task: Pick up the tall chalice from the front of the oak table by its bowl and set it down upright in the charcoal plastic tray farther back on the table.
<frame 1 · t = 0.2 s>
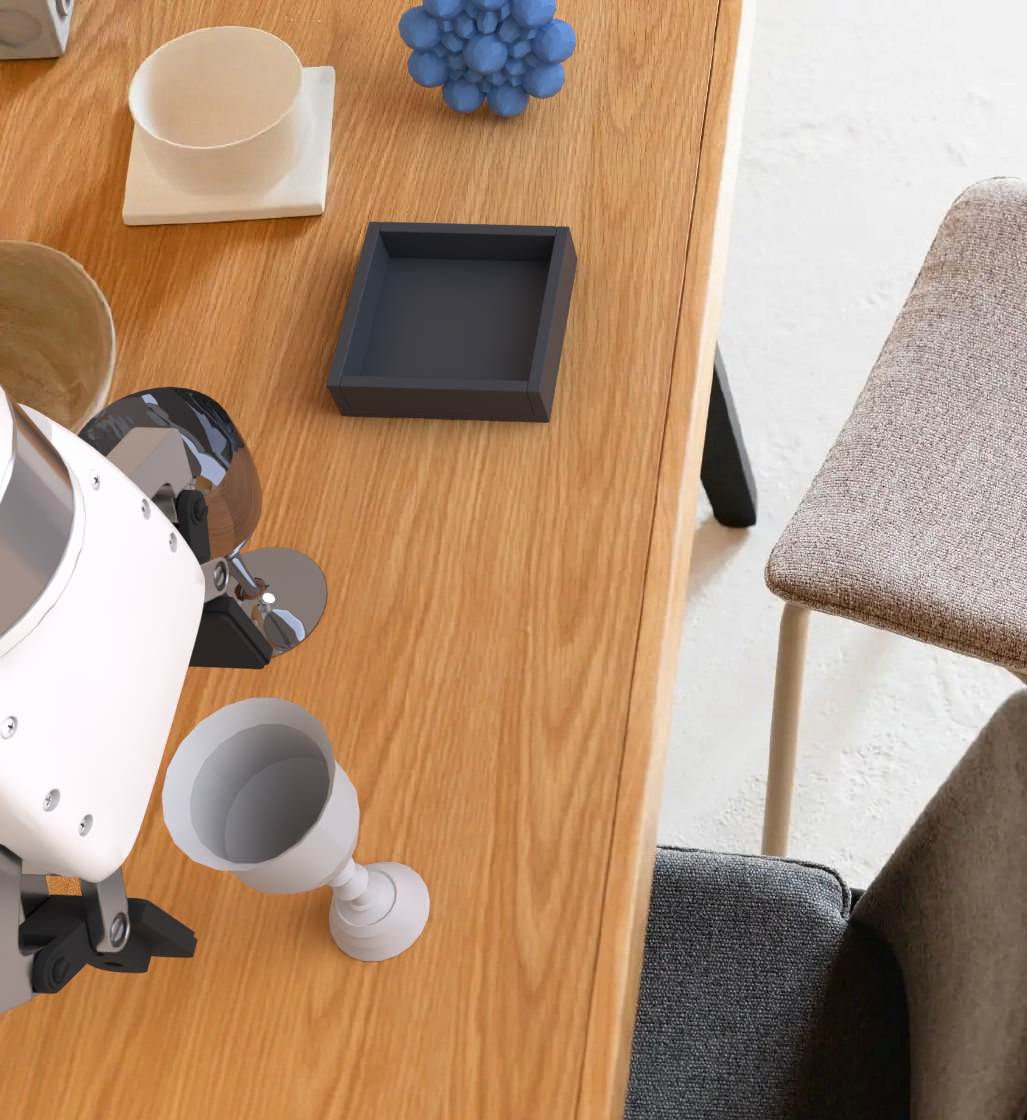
hand: (190, 795, 48), 28 cm above the table, tool pointing down, fingers open, 9 cm apart
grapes: (510, 105, 102), on the table
wine glass: (264, 604, 84), on the table
chalice: (380, 911, 75), on the table
tray: (463, 335, 92), on the table
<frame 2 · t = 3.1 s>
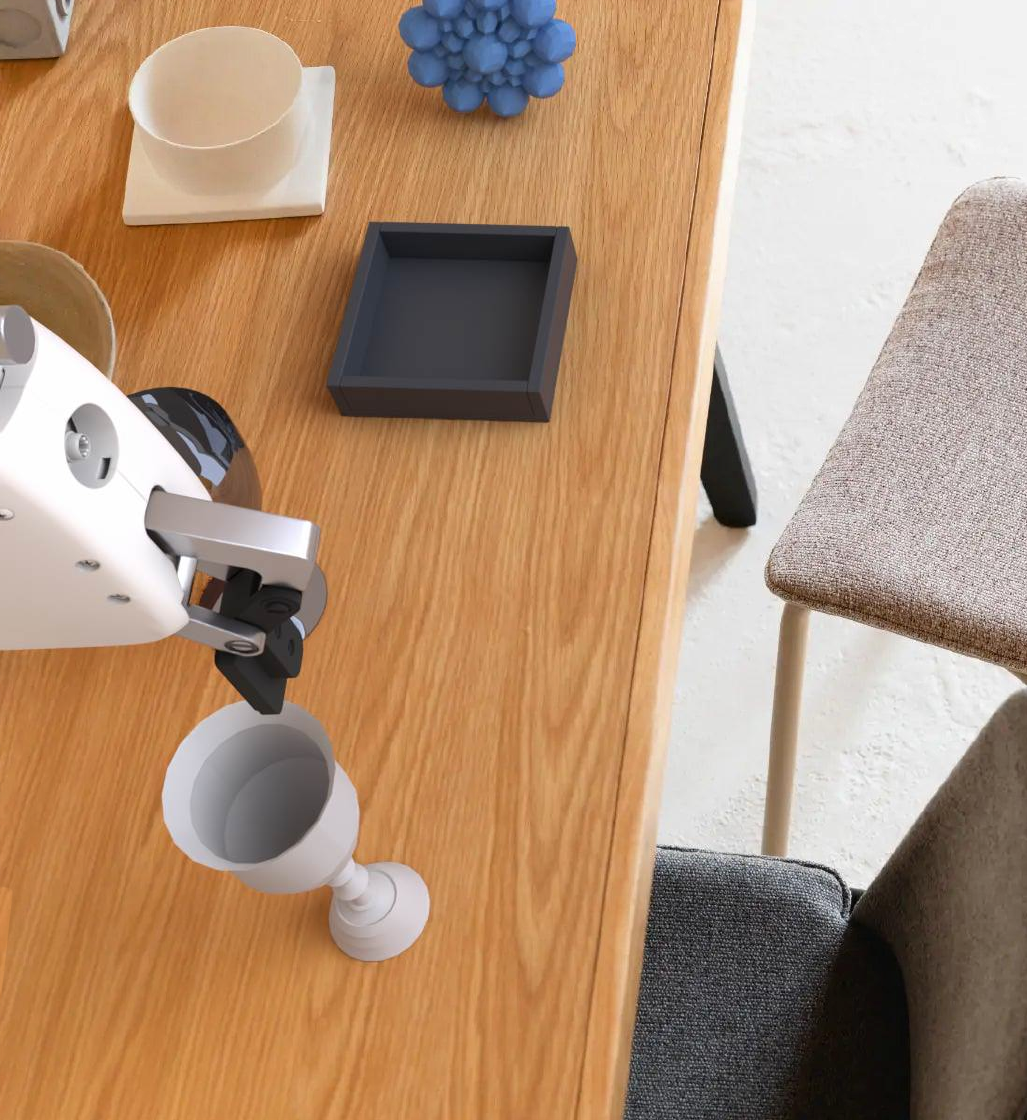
hand: (129, 677, 48), 30 cm above the table, tool pointing down, fingers open, 9 cm apart
nothing on the table moved.
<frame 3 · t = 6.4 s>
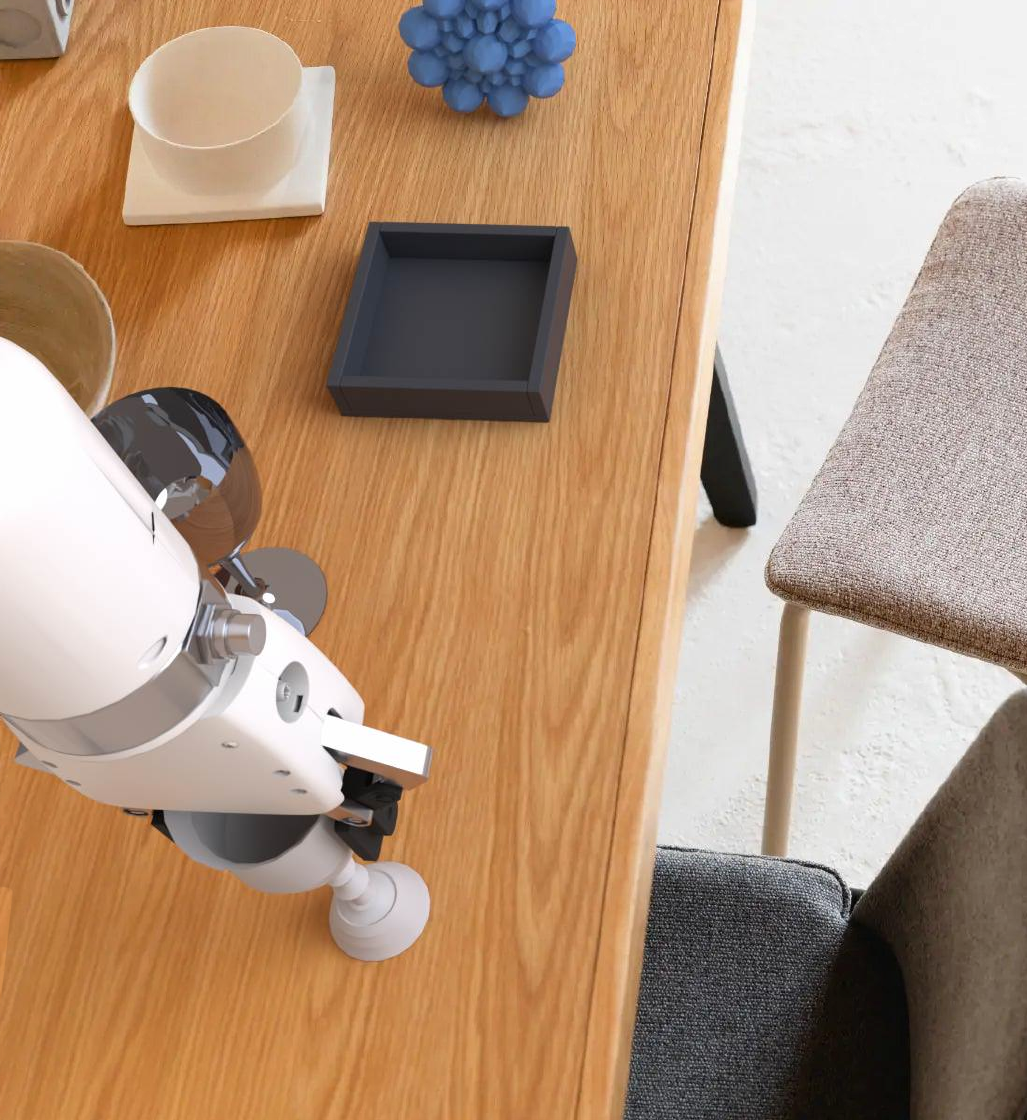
hand: (291, 822, 63), 13 cm above the table, tool pointing down, fingers closed on chalice, 6 cm apart
chalice: (380, 911, 75), on the table, touching gripper
everything else where it was.
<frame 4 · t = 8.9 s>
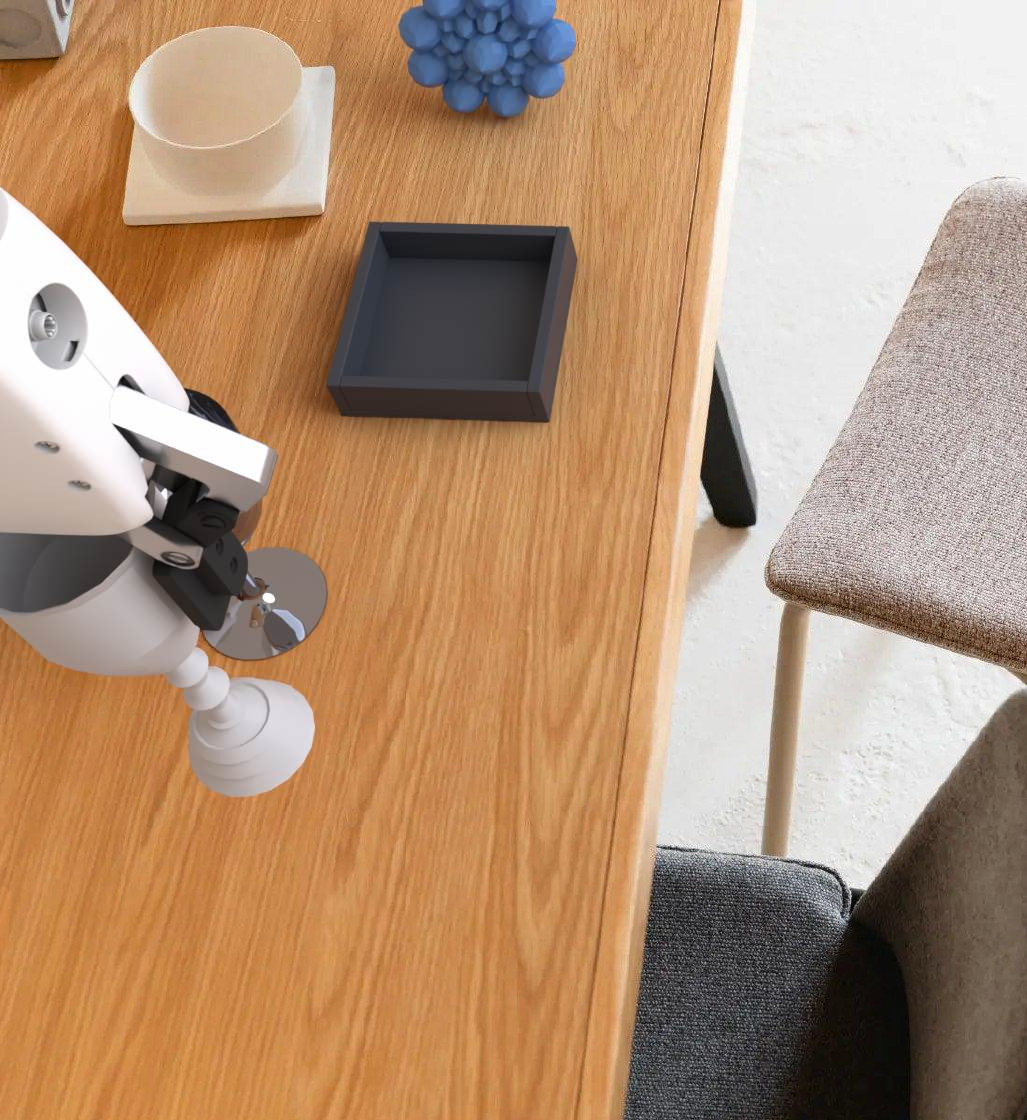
hand: (110, 583, 49), 31 cm above the table, tool pointing down, fingers closed on chalice, 6 cm apart
chalice: (253, 739, 60), point 18 cm above the table, touching gripper
everything else where it was.
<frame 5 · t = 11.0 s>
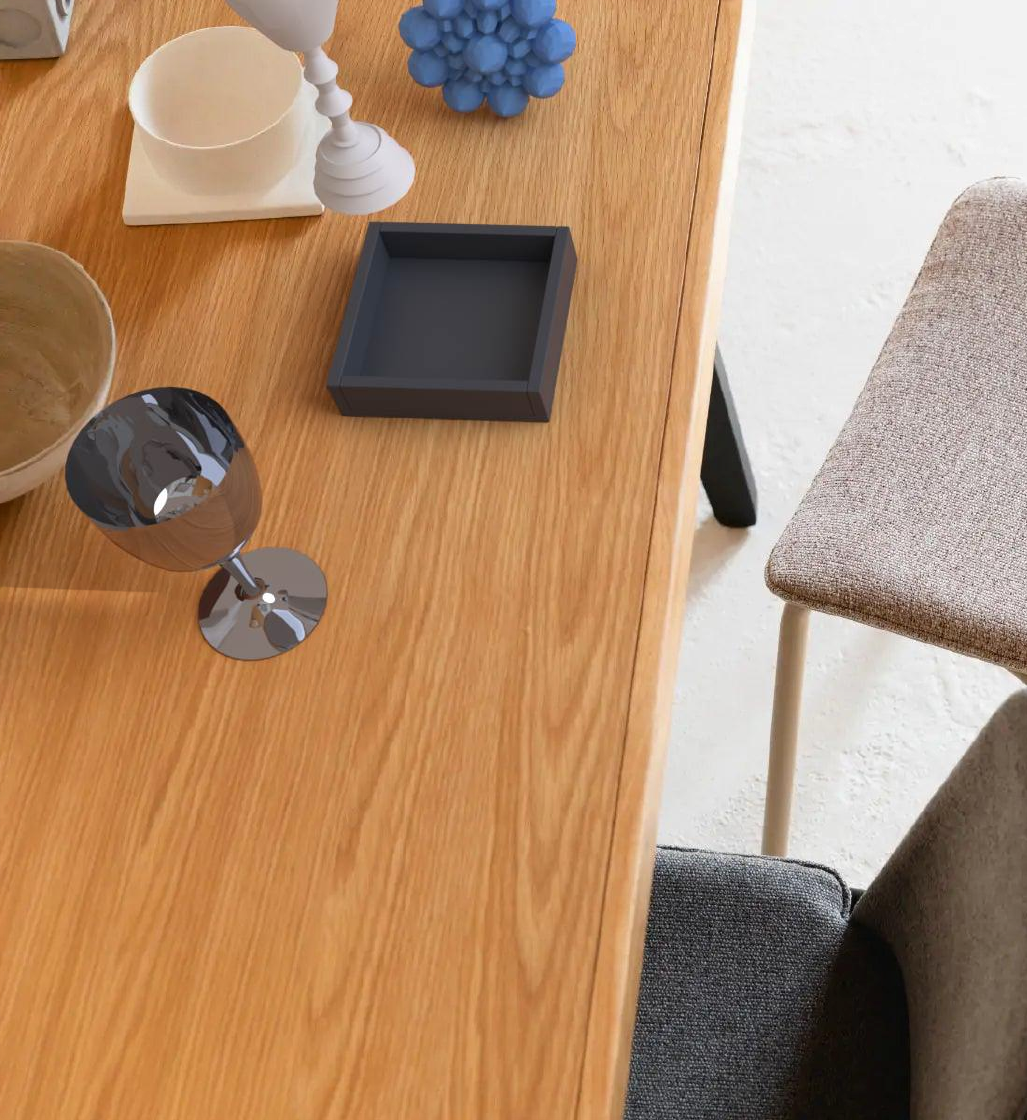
chalice: (365, 179, 74), point 18 cm above the table, touching gripper
everything else where it was.
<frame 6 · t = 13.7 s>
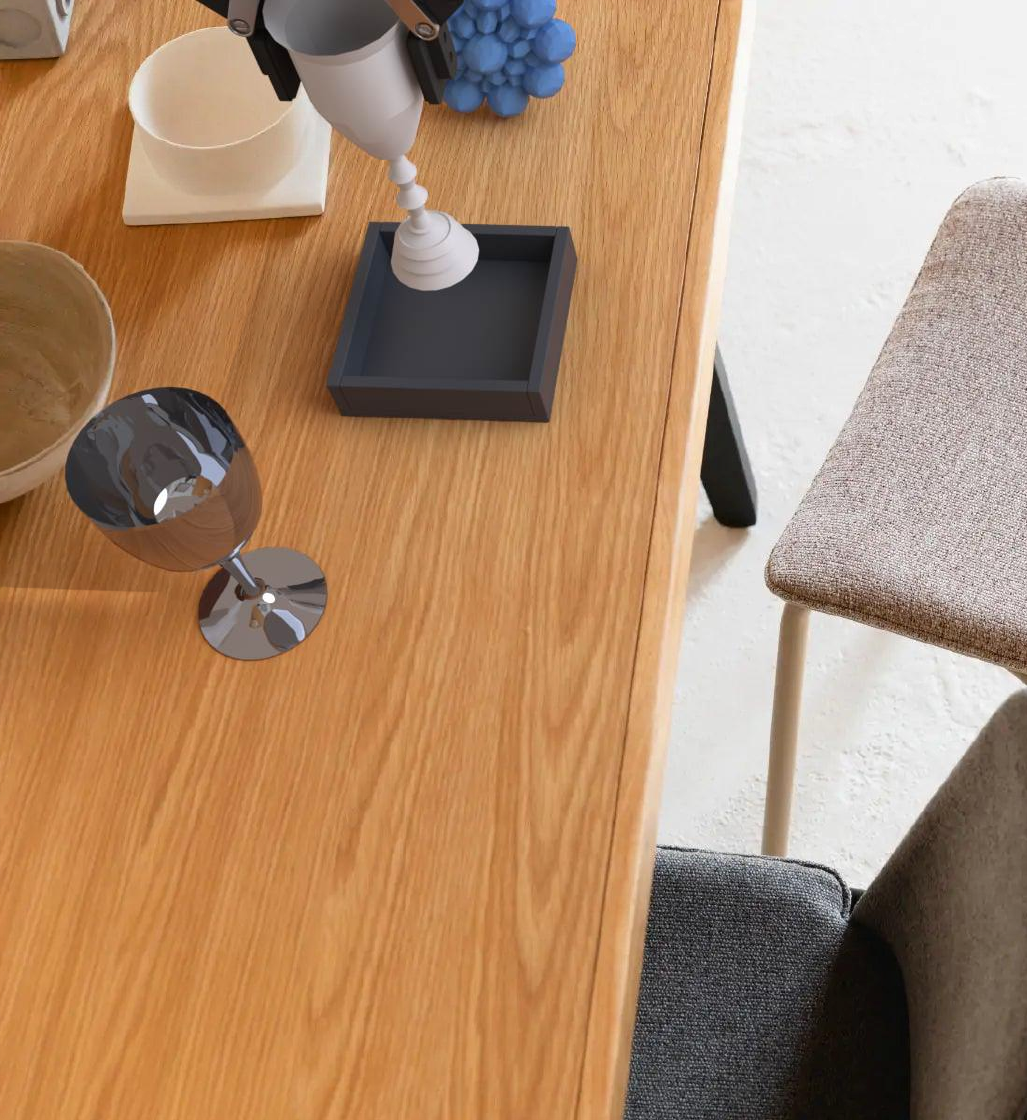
hand: (366, 80, 75), 20 cm above the table, tool pointing down, fingers closed on chalice, 6 cm apart
chalice: (435, 258, 86), point 7 cm above the table, touching gripper
everything else where it was.
when the fingers open (14 cm above the table, at t = 15.9 s): chalice stays where it is, resting on tray.
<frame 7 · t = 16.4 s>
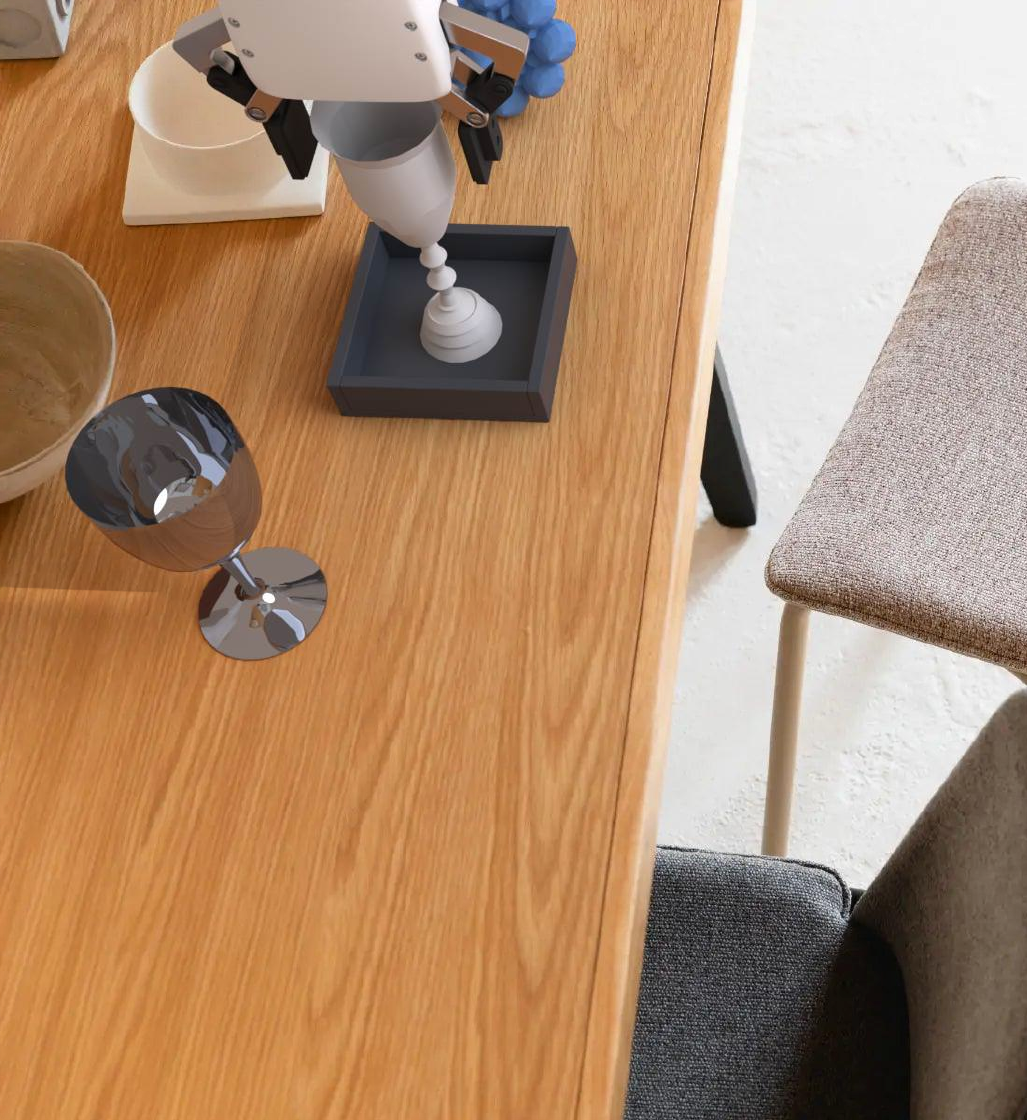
hand: (396, 162, 80), 15 cm above the table, tool pointing down, fingers open, 9 cm apart
chalice: (462, 331, 92), resting on tray
everything else where it was.
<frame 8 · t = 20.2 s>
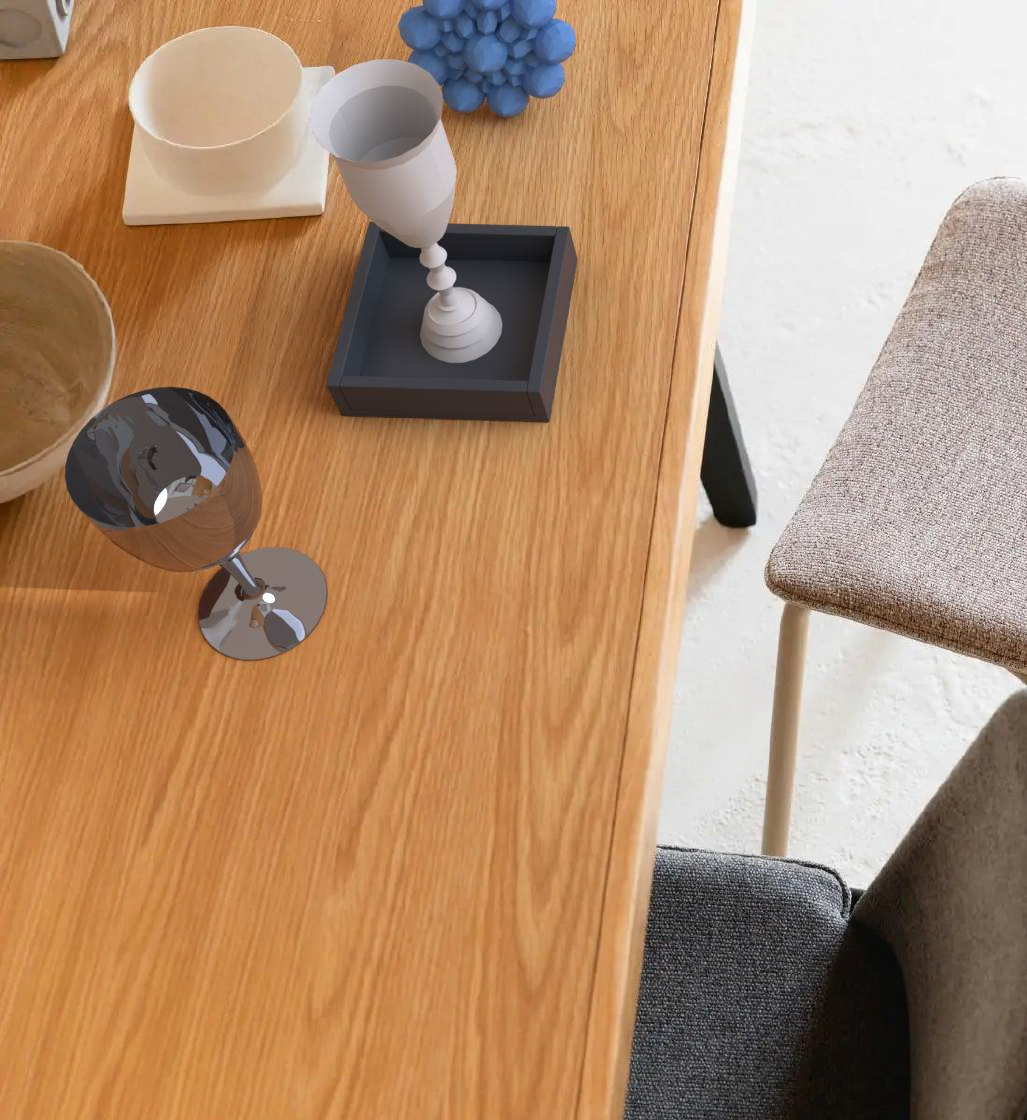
nothing on the table moved.
at the end: chalice inside the target area in the tray (0.0 cm from its centre), point 0.4 cm above the tray's base; chalice tilted 0°; the gripper is holding nothing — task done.
